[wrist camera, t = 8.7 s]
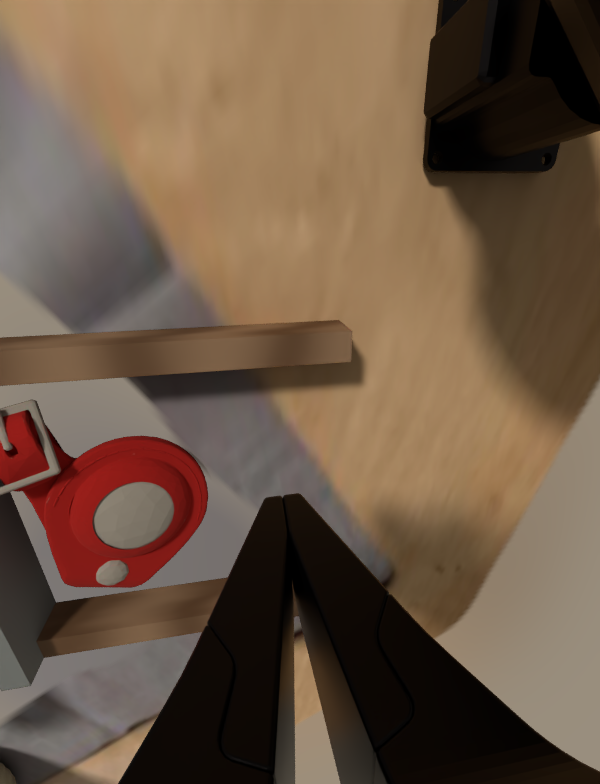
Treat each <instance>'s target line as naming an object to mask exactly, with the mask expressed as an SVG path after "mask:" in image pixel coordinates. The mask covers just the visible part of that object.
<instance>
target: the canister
mask: <svg viewBox="0 0 600 784" xmlns="http://www.w3.org/2000/svg"><path fill="white" fill-rule="evenodd" d="M0 784H17V783H16V780H15V777H14V776H13V775H12V774H11V771H10V770H9V769H7V768H6V767H5V766H4V764H2V763H0Z"/></svg>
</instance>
